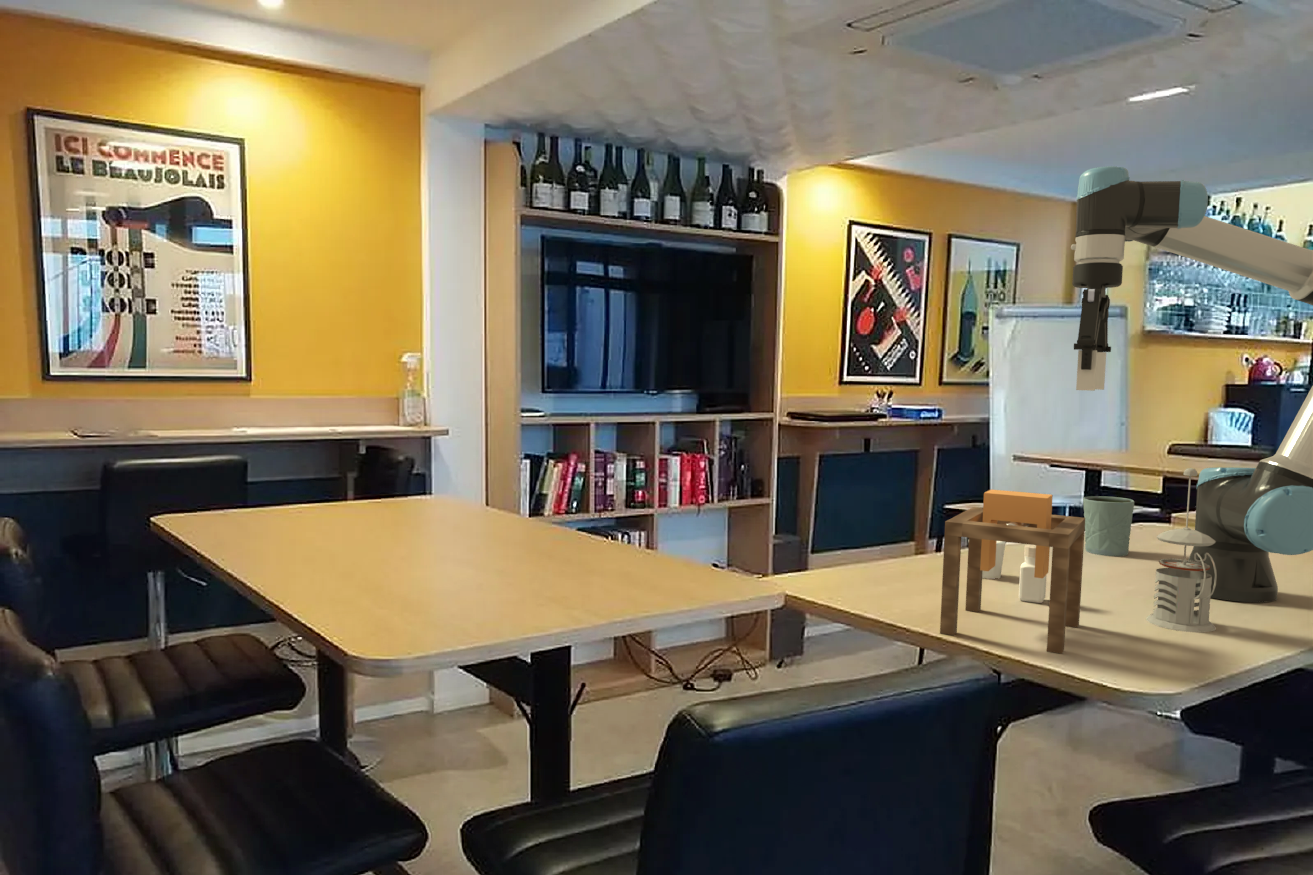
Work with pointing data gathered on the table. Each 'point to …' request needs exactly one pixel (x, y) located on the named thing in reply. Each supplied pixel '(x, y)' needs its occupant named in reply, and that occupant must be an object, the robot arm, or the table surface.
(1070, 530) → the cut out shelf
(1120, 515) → the green plant pot
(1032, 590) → the white pill bottle
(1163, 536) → the french press
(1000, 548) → the white cup
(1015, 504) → the orange arch block
